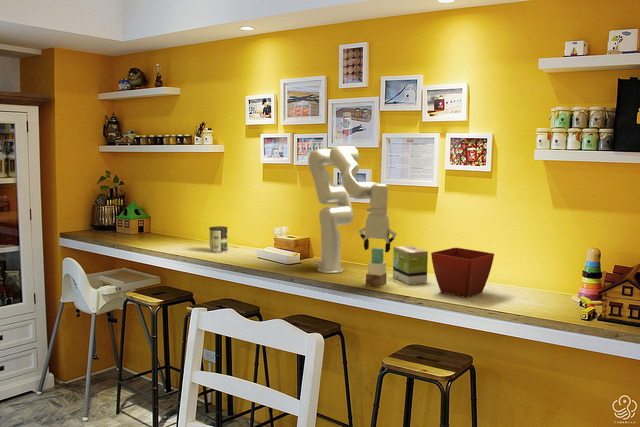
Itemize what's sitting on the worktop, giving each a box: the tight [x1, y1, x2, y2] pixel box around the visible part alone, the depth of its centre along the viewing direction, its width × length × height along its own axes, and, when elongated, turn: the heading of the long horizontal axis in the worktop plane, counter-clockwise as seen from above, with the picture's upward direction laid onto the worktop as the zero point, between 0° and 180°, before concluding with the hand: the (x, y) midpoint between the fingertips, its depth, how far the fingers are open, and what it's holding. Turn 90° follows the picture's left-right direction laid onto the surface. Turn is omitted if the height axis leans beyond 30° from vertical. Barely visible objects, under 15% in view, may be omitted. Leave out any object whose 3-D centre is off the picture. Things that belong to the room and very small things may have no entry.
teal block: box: [370, 247, 385, 264], centre depth 242 cm, size 5×5×6 cm
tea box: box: [392, 245, 429, 285], centre depth 252 cm, size 15×10×15 cm, turn 21°
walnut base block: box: [365, 272, 387, 287], centre depth 243 cm, size 7×7×5 cm
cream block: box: [367, 261, 387, 276], centre depth 243 cm, size 6×6×5 cm
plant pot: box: [430, 247, 495, 298], centre depth 230 cm, size 19×19×17 cm
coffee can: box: [209, 225, 229, 254], centre depth 318 cm, size 10×10×14 cm
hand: (376, 250), depth 242 cm, fingers open, 9 cm apart
